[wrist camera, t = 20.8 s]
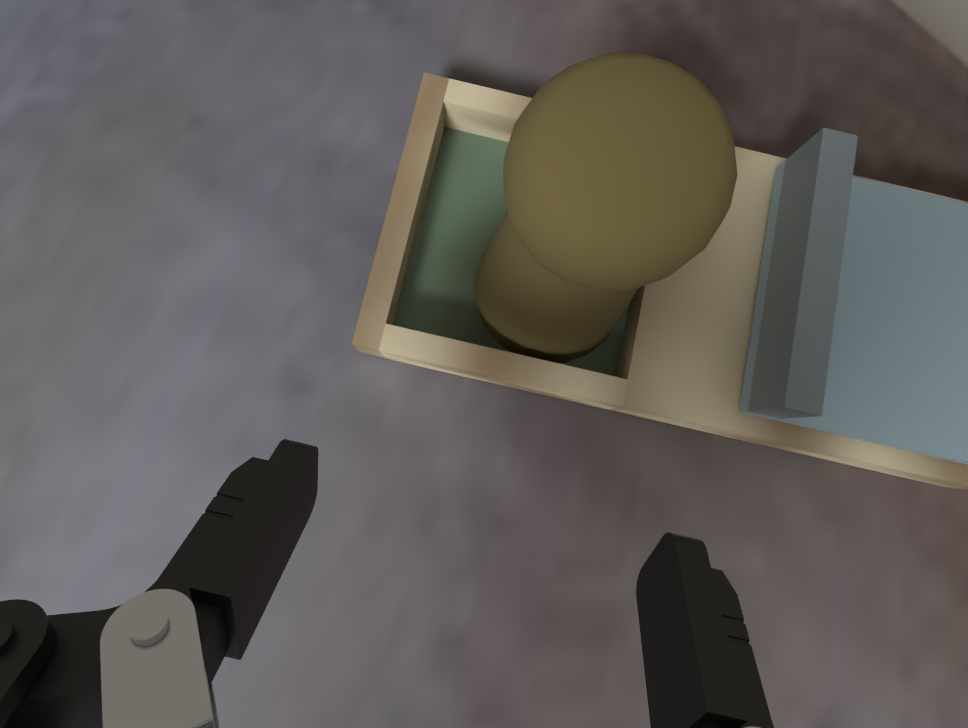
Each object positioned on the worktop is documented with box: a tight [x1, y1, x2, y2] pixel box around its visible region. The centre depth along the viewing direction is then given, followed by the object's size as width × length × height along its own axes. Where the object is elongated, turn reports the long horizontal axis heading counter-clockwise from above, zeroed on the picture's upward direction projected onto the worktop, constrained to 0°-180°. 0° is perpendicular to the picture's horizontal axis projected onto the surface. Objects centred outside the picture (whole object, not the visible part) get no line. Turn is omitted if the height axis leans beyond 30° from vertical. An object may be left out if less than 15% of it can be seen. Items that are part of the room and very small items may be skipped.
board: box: [352, 73, 968, 489], centre depth 21 cm, size 24×11×2 cm, turn 77°
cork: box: [475, 53, 737, 363], centre depth 16 cm, size 6×6×11 cm
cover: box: [739, 127, 968, 465], centre depth 19 cm, size 10×10×3 cm
